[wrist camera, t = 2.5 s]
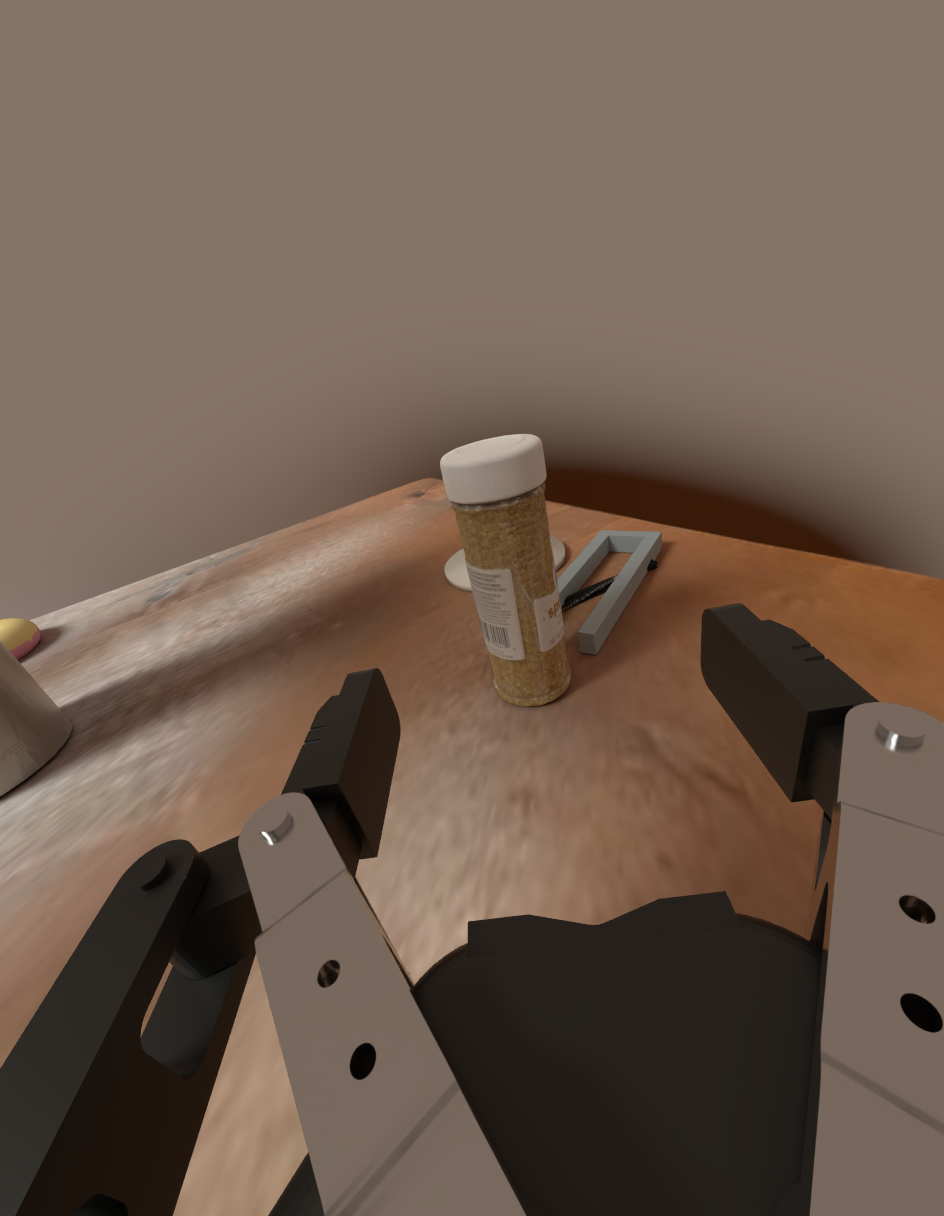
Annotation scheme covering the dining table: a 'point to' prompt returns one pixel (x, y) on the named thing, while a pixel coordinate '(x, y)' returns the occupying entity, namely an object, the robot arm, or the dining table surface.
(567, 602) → the black marker pen
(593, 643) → the grey u-shaped piece
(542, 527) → the sprinkles bottle
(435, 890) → the dining table surface
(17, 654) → the donut
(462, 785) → the dining table surface
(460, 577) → the coaster
